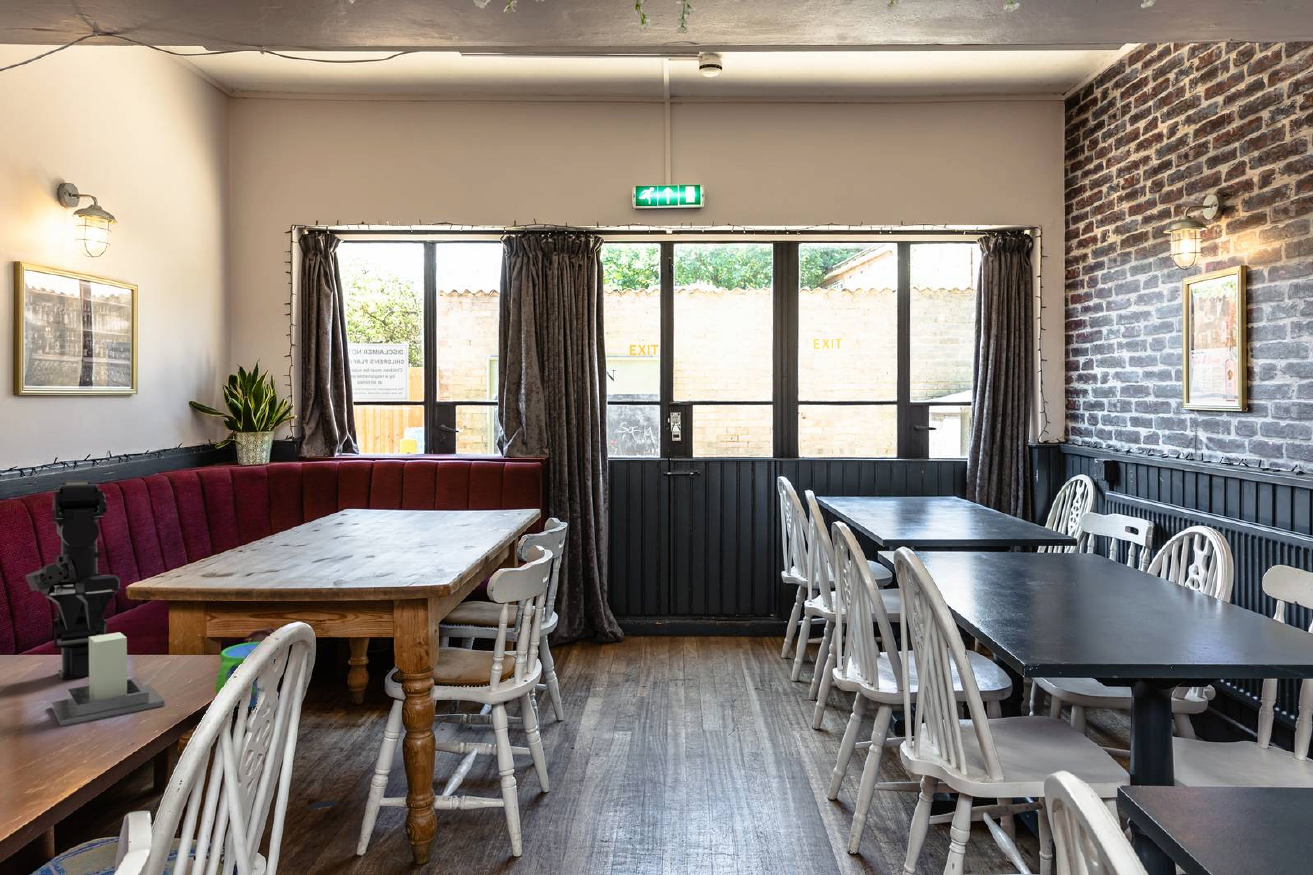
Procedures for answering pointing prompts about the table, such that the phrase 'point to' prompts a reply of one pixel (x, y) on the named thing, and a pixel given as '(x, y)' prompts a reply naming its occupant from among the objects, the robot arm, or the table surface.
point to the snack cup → (236, 666)
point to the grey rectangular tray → (105, 703)
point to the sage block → (107, 666)
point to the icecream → (259, 635)
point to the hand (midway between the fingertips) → (81, 629)
